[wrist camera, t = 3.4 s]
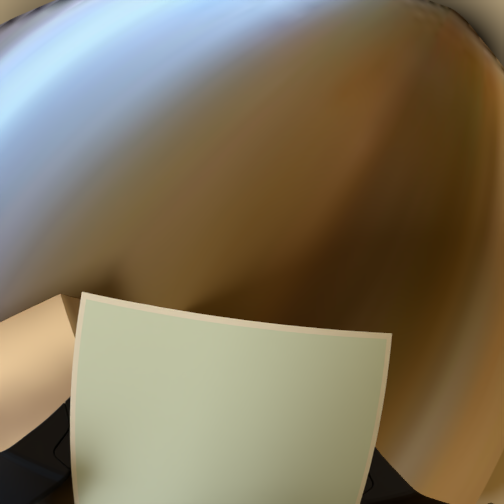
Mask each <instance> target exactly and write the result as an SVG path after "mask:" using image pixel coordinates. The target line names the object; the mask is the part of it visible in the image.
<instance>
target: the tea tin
mask: <svg viewBox="0 0 504 504" xmlns="http://www.w3.org/2000/svg"><path fill="white" fill-rule="evenodd" d="M391 338H392V333H374V332H359V331H345V330H332V329H321V328H310V327H300V326H290V325H281V324H272V323H264V322H256V321H248V320H240V319H233V318H225V317H218V316H211V315H205V314H198V313H192V312H186V311H179V310H173V309H168V308H162V307H156V306H151V305H145V304H140V303H134V302H129V301H124V300H119V299H114V298H109V297H104V296H100V295H95V294H90V293H86V292H82V295H81V301H80V307H79V314H78V321H77V328H76V336H75V345H74V355H73V366H72V380H71V401H70V451H71V470H72V483H73V494H74V503H75V504H360V501H361V498H362V494H363V491H364V487H365V484H366V480H367V476H368V473H369V469H370V465H371V461H372V456H373V452H374V448H375V443H376V439H377V434H378V429H379V424H380V418H381V413H382V407H383V401H384V395H385V388H386V381H387V374H388V366H389V358H390V349H391Z"/></svg>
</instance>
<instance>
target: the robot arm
mask: <svg viewBox="0 0 504 504" xmlns="http://www.w3.org/2000/svg"><path fill="white" fill-rule="evenodd" d="M70 401H71V396H70V397H69V398H68V399H67V400H66V401H65V403H63V404H62V405H61V406H60V407H59V408H58V409H57V410H56V411H55V412H54V413H52V414H51V415H50V416H49V417H48V418H47V419H46V420H45V421H43V422H42V423H41V424H40V425H39V426H37V427H36V428H35V429H33V430H32V431H31V432H30V433H28V434H27V435H26V436H24V437H23V438H22V439H20V440H19V441H18V442H16V443H15V444H14V445H12V446H11V447H10V448H8V449H6V450H4V451H2V452H0V504H75V503H74V494H73V483H72V470H71V451H70ZM360 504H448V503H445V502H442V501H438V500H435V499H432V498H429V497H426V496H424V495H422V494H420V493H419V492H417V491H416V490H414V489H413V488H412V487H411V486H410V485H409V484H408V483H407V482H406V481H405V480H404V479H403V478H402V477H401V476H400V475H399V473H398V472H397V471H396V470H395V469H394V468H393V467H392V466H391V465H390V464H389V463H388V462H387V461H386V459H385V458H384V457H383V456H382V455H381V454H380V452H379V451H378V450H377V449H376V447H375V448H374V452H373V456H372V461H371V465H370V469H369V473H368V476H367V480H366V484H365V487H364V491H363V494H362V498H361V501H360ZM488 504H493V503H488Z"/></svg>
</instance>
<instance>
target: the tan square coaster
mask: <svg viewBox="0 0 504 504" xmlns="http://www.w3.org/2000/svg"><path fill="white" fill-rule="evenodd" d="M79 307H80V299H78V298H74V297H70V296H66V295H63V294H59V295H57V296H55V297H53V298H50V299H48V300H46V301H44V302H42V303H40V304H38V305H35V306H33V307H31V308H29V309H27V310H25V311H23V312H21V313H19V314H17V315H14V316H12V317H10V318H8V319H6V320H4V321H2V322H0V452H2V451H4V450H6V449H8V448H10V447H11V446H12V445H14V444H15V443H16V442H18V441H19V440H20V439H22V438H23V437H24V436H26V435H27V434H28V433H30V432H31V431H32V430H33V429H35V428H36V427H37V426H39V425H40V424H41V423H42V422H43V421H45V420H46V419H47V418H48V417H49V416H50V415H51V414H52V413H54V412H55V411H56V410H57V409H58V408H59V407H60V406H61V405H62V404H63V403H65V401H66V400H67V399H68V398H69V397H70V396H71V380H72V366H73V355H74V345H75V336H76V328H77V321H78V314H79Z"/></svg>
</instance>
